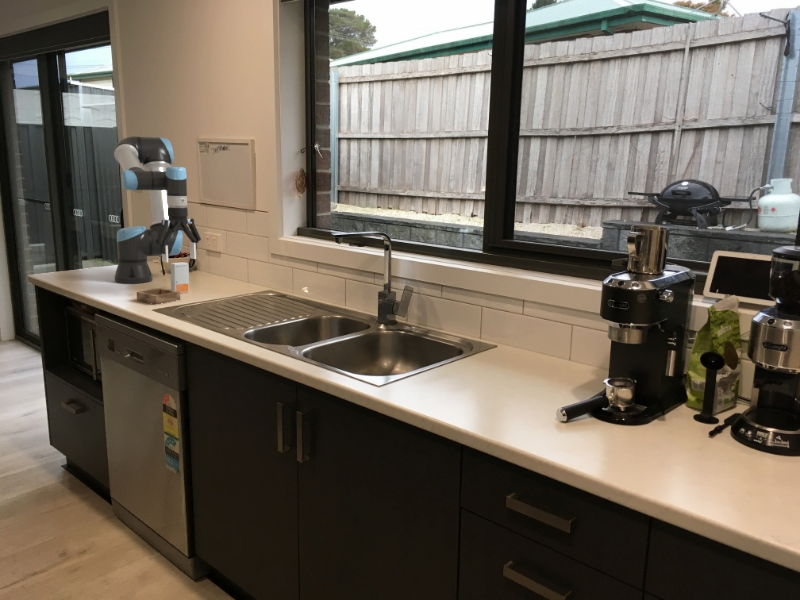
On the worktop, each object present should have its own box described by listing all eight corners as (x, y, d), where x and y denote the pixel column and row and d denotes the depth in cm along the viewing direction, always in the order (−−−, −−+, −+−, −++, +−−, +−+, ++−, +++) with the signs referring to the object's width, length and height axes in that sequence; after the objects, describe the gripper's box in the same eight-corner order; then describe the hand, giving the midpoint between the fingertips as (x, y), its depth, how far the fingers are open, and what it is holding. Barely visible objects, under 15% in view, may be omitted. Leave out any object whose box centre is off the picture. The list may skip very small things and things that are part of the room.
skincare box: (174, 294, 255) (173, 264, 253) (171, 292, 258) (169, 263, 256) (189, 292, 259) (188, 263, 256) (185, 290, 262) (184, 261, 260)
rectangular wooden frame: (137, 300, 241) (136, 292, 241) (161, 296, 250) (161, 287, 250) (155, 304, 236) (155, 296, 235) (180, 300, 245) (180, 291, 244)
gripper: (156, 208, 239) (159, 264, 243) (208, 206, 260) (210, 258, 264) (143, 207, 243) (146, 262, 247) (196, 205, 264) (197, 256, 268)
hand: (179, 260), depth 256 cm, fingers open, 13 cm apart
